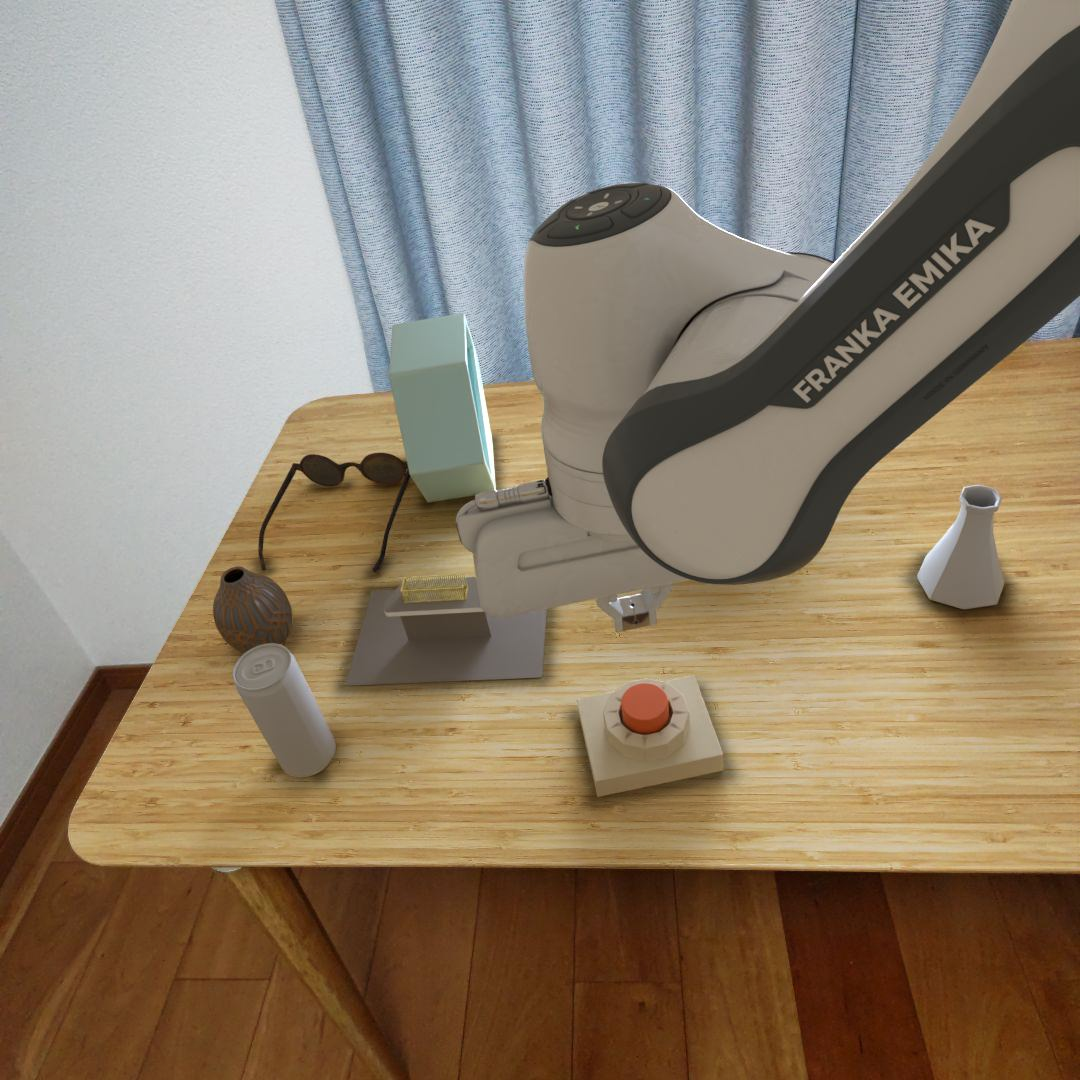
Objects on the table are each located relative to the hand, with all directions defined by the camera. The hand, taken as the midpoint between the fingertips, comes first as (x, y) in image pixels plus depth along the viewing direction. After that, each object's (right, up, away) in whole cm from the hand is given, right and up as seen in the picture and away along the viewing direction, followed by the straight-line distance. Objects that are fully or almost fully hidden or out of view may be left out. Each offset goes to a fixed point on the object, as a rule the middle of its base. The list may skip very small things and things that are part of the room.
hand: (633, 622), depth 63 cm
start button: (+2, -8, +7) cm, 11 cm away
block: (+2, -11, +10) cm, 15 cm away
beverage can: (-26, -13, +13) cm, 32 cm away
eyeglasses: (-29, +7, +36) cm, 46 cm away
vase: (-33, -4, +24) cm, 41 cm away
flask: (+31, +2, +18) cm, 36 cm away
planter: (-16, +13, +40) cm, 45 cm away
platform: (-15, -3, +22) cm, 27 cm away
